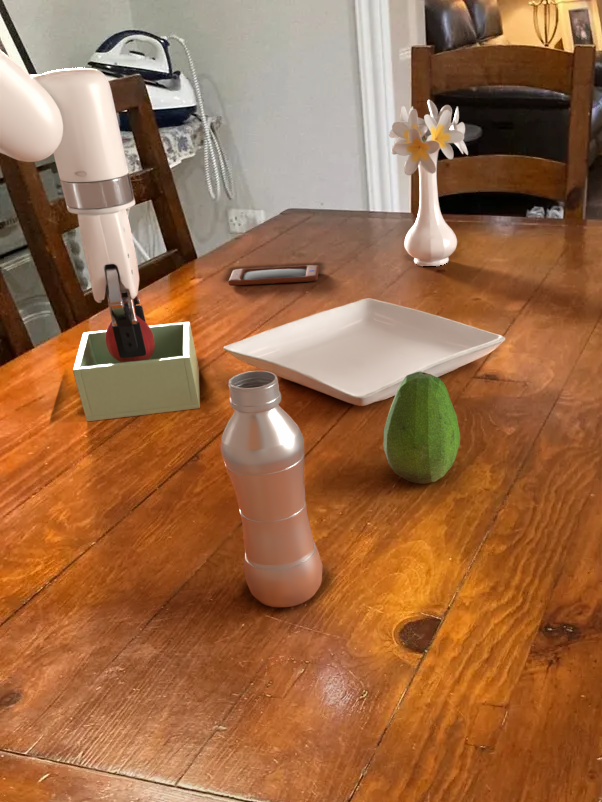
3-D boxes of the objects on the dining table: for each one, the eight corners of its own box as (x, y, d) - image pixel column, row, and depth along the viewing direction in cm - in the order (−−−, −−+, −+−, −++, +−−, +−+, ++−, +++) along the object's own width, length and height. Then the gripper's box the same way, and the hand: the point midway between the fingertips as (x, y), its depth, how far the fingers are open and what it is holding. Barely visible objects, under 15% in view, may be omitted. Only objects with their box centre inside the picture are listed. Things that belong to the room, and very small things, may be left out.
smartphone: (316, 276, 158) (227, 280, 157) (317, 281, 158) (228, 286, 158) (318, 264, 163) (232, 268, 163) (319, 269, 164) (233, 274, 163)
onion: (121, 361, 121) (106, 299, 117) (165, 360, 121) (152, 298, 116) (107, 378, 116) (91, 314, 112) (153, 377, 116) (138, 313, 112)
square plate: (362, 426, 111) (359, 395, 108) (223, 372, 126) (218, 344, 124) (508, 359, 127) (508, 331, 124) (369, 319, 142) (367, 293, 140)
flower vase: (395, 280, 158) (385, 115, 143) (398, 250, 173) (388, 98, 158) (472, 277, 158) (469, 112, 143) (468, 247, 173) (465, 95, 158)
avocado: (454, 499, 95) (450, 388, 89) (379, 494, 97) (370, 385, 90) (466, 463, 102) (464, 357, 95) (396, 460, 103) (389, 354, 96)
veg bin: (86, 421, 114) (72, 370, 110) (95, 380, 125) (82, 332, 121) (199, 408, 116) (189, 357, 113) (199, 369, 127) (189, 321, 123)
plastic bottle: (339, 599, 82) (312, 381, 70) (268, 626, 79) (228, 404, 67) (305, 566, 86) (275, 357, 74) (237, 591, 83) (194, 377, 71)
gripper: (72, 181, 113) (108, 327, 123) (55, 213, 99) (98, 375, 110) (136, 176, 114) (166, 321, 125) (128, 207, 100) (163, 368, 111)
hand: (134, 345), depth 117 cm, fingers closed on onion, 5 cm apart
